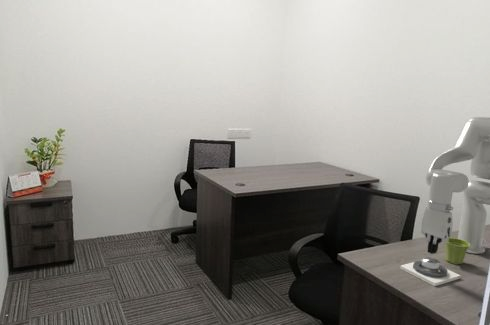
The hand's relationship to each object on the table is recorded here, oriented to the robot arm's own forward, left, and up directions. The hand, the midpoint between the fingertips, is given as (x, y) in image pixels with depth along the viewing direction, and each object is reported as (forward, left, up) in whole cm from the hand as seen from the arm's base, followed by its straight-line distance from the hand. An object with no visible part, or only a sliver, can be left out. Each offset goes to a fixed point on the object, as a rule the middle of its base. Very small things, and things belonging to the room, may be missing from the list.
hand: (432, 252), depth 139 cm
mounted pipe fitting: (0, 0, -9) cm, 9 cm away
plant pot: (-20, -3, -9) cm, 22 cm away
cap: (0, 0, -7) cm, 7 cm away
